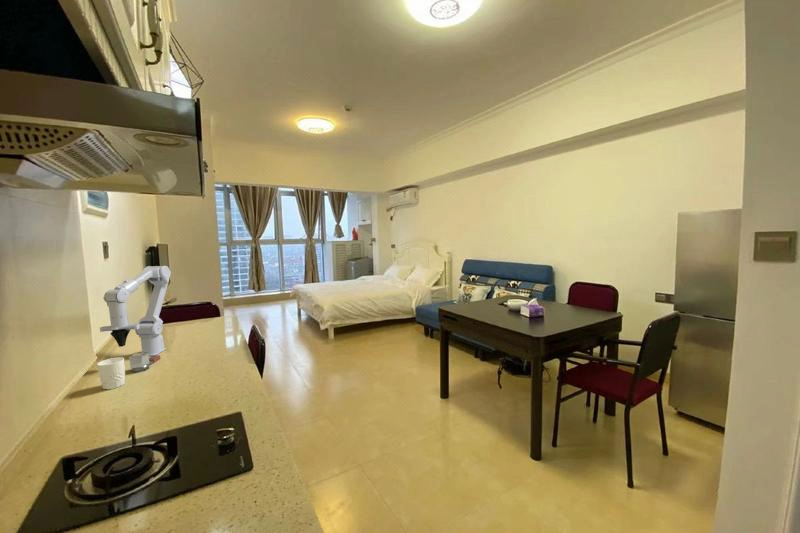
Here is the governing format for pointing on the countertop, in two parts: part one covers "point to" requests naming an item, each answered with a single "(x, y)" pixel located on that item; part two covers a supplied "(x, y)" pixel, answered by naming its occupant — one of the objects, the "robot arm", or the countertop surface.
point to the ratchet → (151, 361)
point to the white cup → (112, 373)
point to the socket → (139, 360)
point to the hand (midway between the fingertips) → (122, 345)
